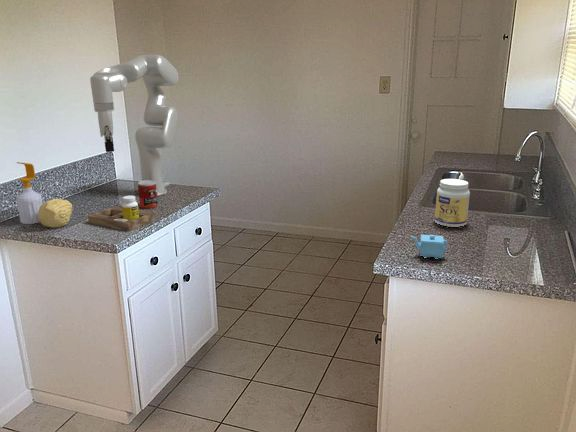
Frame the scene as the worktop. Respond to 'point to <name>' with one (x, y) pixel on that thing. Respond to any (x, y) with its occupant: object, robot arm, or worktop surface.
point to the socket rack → (119, 219)
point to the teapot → (431, 246)
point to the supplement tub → (452, 203)
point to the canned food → (147, 194)
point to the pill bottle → (130, 208)
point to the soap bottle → (29, 198)
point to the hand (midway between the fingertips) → (109, 149)
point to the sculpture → (55, 213)
